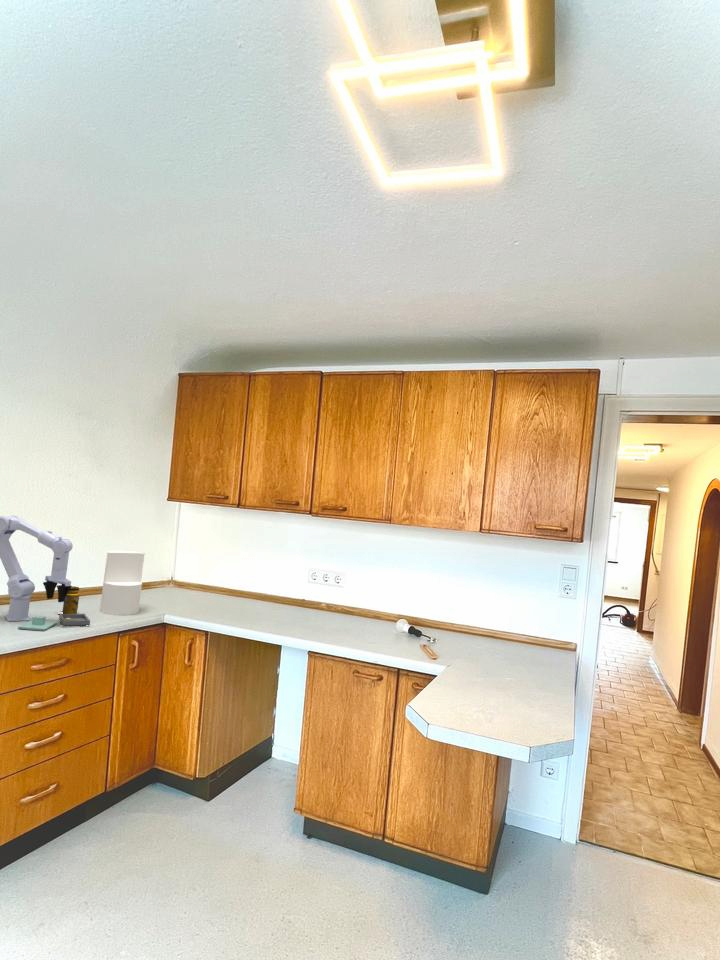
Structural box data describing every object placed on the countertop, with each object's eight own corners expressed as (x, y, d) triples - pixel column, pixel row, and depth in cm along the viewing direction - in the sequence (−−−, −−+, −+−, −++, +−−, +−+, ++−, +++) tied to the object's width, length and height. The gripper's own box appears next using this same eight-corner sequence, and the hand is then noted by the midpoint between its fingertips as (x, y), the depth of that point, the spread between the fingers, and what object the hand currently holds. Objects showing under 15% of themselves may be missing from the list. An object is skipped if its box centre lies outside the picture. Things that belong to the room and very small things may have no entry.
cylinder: (94, 607, 270) (102, 550, 271) (130, 606, 282) (137, 550, 283) (107, 616, 257) (115, 555, 258) (144, 614, 269) (151, 555, 270)
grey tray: (58, 620, 241) (59, 614, 241) (84, 619, 247) (85, 613, 247) (63, 627, 231) (63, 621, 231) (89, 626, 237) (90, 620, 237)
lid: (31, 623, 233) (33, 612, 233) (56, 625, 234) (58, 614, 234) (17, 630, 221) (19, 619, 221) (44, 632, 222) (45, 621, 222)
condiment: (79, 614, 254) (83, 588, 254) (59, 616, 248) (63, 589, 248) (74, 611, 259) (78, 585, 259) (54, 612, 253) (58, 585, 254)
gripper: (40, 565, 237) (35, 598, 236) (61, 571, 230) (57, 604, 229) (55, 565, 243) (51, 596, 242) (77, 570, 236) (72, 602, 235)
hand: (55, 600), depth 236 cm, fingers open, 7 cm apart
